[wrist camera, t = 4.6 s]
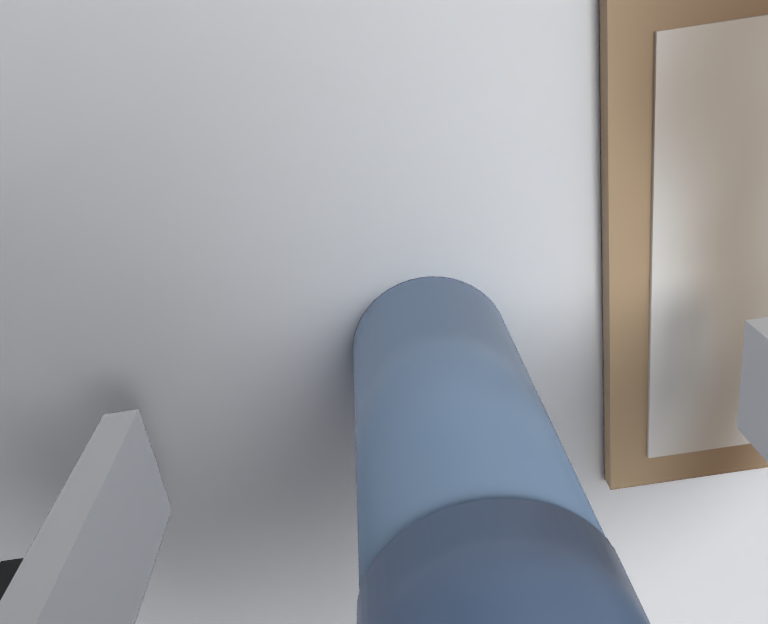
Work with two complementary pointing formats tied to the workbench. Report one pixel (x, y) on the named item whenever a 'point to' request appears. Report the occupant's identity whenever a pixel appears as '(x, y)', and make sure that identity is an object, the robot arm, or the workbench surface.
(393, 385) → the blue cylinder
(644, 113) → the picture frame
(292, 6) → the workbench surface
